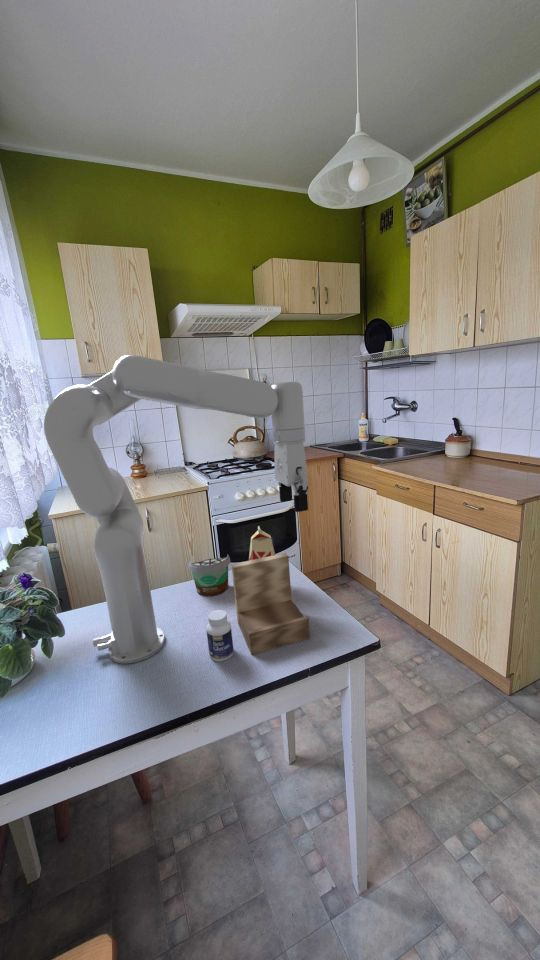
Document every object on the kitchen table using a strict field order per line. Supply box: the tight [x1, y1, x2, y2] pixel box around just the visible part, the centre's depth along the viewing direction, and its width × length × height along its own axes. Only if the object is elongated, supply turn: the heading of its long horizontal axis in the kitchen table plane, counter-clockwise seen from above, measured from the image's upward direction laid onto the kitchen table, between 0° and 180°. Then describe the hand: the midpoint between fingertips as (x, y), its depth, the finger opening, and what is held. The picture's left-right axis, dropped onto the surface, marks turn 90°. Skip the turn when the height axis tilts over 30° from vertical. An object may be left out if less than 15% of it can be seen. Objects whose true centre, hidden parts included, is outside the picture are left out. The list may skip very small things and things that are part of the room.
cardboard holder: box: [230, 552, 311, 656], centre depth 90 cm, size 14×13×16 cm
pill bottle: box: [206, 609, 234, 662], centre depth 84 cm, size 5×5×10 cm
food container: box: [188, 555, 231, 598], centre depth 111 cm, size 12×6×10 cm, turn 104°
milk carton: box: [248, 525, 276, 561], centre depth 108 cm, size 9×9×20 cm
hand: (293, 505), depth 94 cm, fingers open, 9 cm apart
